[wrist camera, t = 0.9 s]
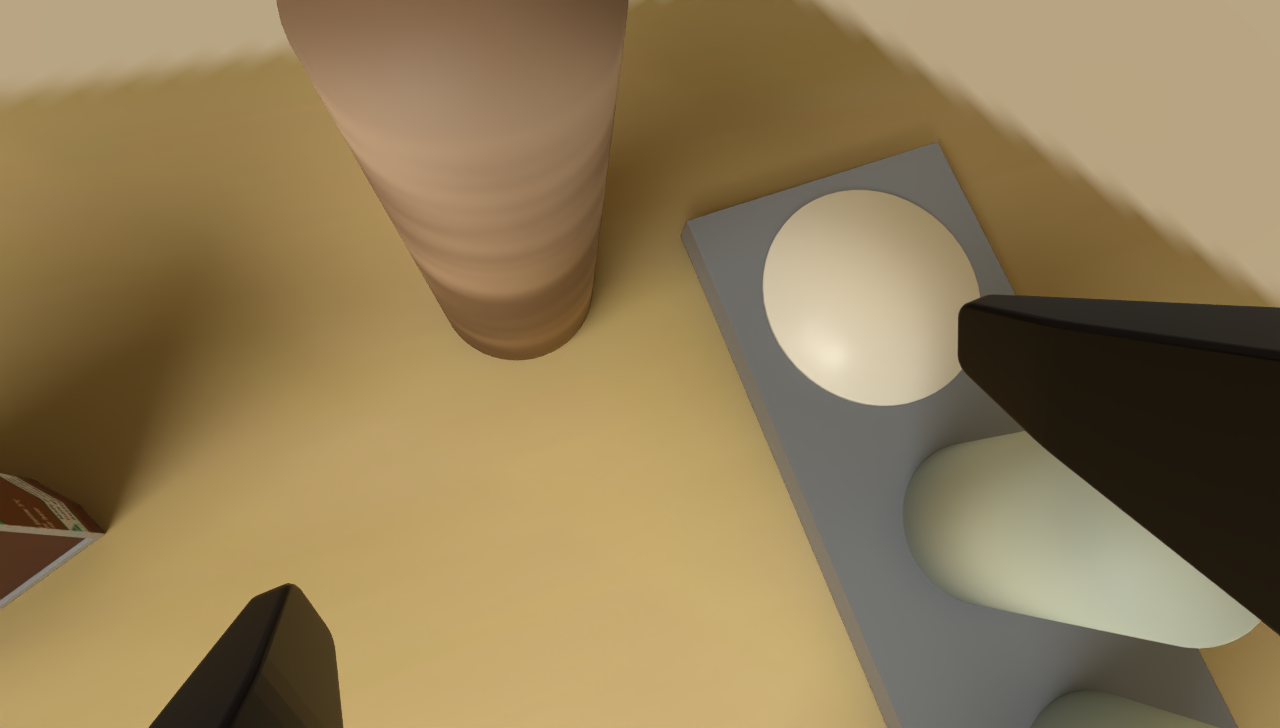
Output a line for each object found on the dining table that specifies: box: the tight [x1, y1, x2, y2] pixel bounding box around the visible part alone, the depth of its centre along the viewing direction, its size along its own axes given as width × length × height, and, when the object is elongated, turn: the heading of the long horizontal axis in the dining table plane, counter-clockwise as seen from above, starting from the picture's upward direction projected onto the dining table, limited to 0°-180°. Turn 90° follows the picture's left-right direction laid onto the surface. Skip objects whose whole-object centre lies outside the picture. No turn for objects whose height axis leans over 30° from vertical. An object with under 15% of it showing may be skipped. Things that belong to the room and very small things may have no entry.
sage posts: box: [903, 431, 1261, 728], centre depth 17 cm, size 13×5×7 cm, turn 21°
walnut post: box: [277, 0, 628, 360], centre depth 16 cm, size 5×5×13 cm
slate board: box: [681, 142, 1238, 728], centre depth 21 cm, size 24×10×1 cm, turn 21°
